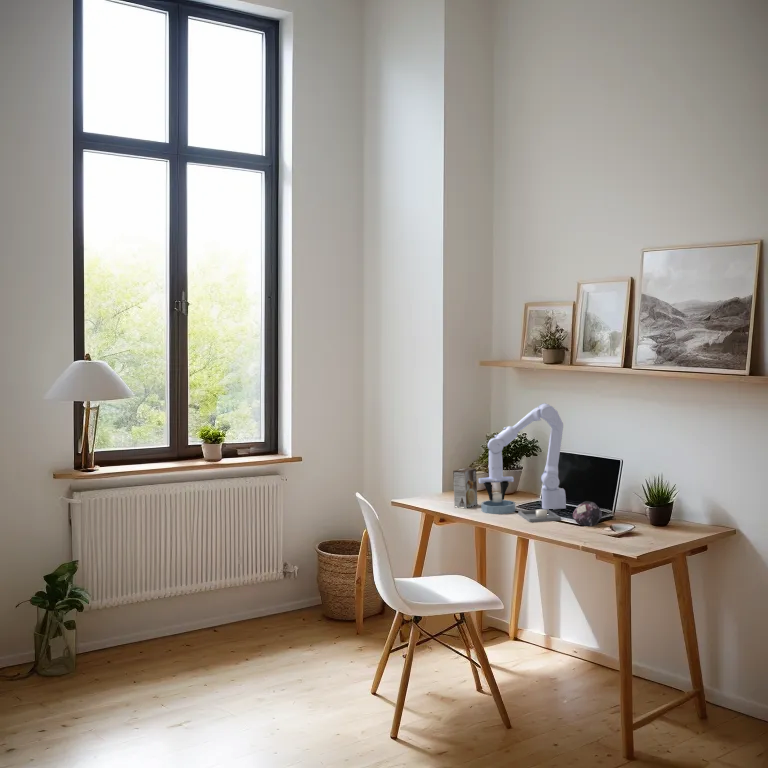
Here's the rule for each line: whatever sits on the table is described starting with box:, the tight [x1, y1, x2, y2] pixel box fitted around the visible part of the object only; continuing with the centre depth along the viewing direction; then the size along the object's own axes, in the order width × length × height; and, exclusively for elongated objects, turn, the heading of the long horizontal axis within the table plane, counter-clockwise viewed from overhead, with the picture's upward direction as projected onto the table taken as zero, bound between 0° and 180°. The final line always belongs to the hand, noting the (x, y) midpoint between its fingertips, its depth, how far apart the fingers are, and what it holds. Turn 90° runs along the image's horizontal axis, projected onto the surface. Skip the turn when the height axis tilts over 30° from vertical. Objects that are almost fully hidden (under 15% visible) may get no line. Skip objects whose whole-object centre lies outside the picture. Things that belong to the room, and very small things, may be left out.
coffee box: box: [452, 467, 478, 509], centre depth 374 cm, size 9×6×16 cm
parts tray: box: [518, 509, 561, 523], centre depth 343 cm, size 12×15×2 cm
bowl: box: [480, 499, 517, 515], centre depth 359 cm, size 14×14×4 cm
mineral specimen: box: [572, 500, 603, 527], centre depth 329 cm, size 10×10×10 cm
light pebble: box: [492, 491, 502, 503], centre depth 361 cm, size 4×4×3 cm
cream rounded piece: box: [535, 508, 547, 518], centre depth 340 cm, size 4×4×3 cm
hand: (496, 499), depth 361 cm, fingers closed on light pebble, 4 cm apart
